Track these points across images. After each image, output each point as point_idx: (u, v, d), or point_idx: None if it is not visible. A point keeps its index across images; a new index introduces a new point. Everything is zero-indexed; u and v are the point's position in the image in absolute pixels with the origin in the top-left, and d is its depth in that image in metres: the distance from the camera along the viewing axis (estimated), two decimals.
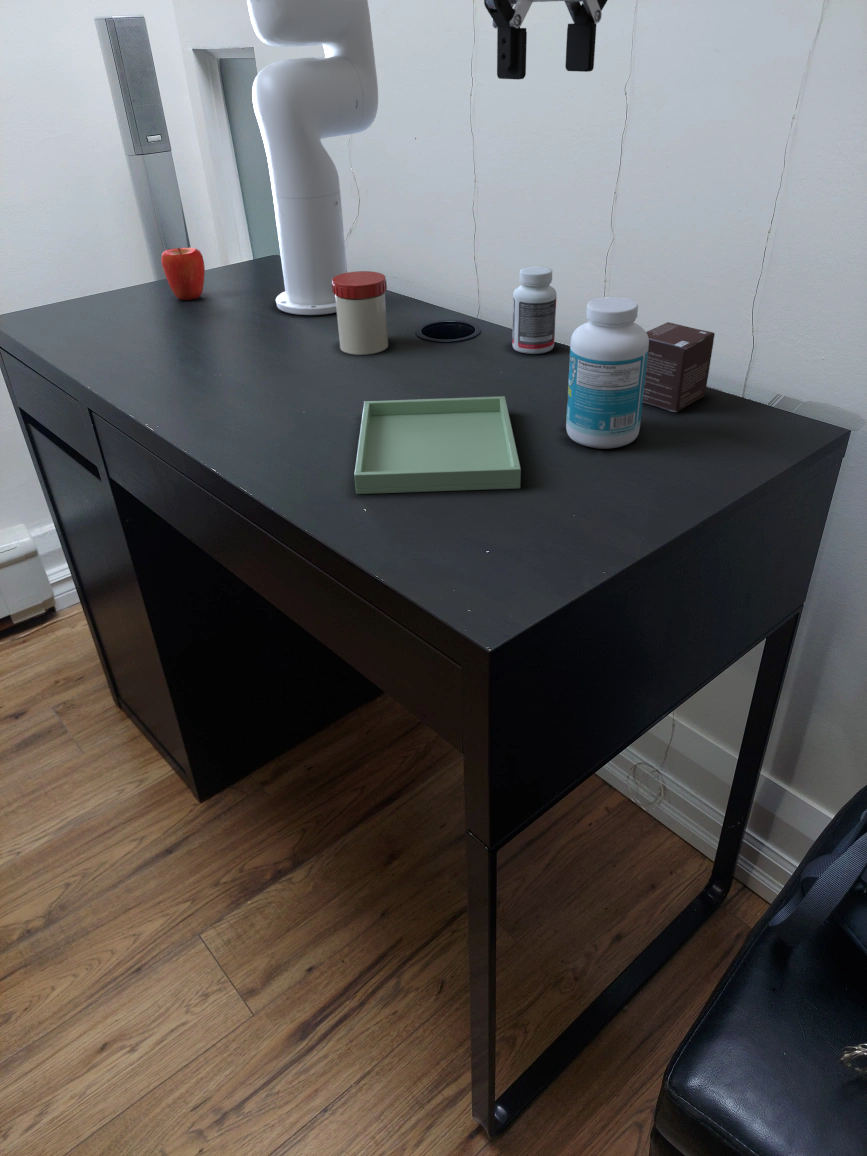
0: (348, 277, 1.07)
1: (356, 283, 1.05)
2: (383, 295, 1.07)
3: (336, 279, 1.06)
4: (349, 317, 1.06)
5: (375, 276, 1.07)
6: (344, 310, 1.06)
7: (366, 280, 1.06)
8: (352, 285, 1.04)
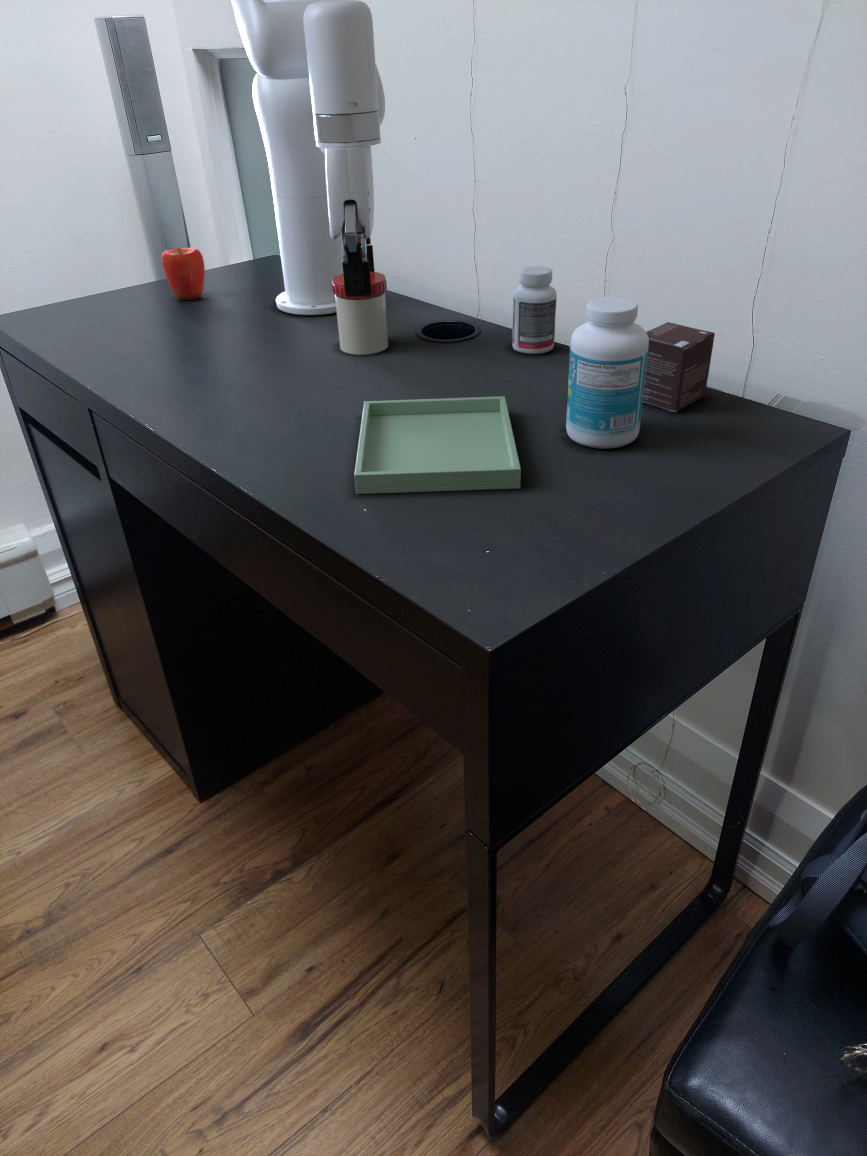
0: None
1: None
2: (383, 295, 1.07)
3: (336, 279, 1.06)
4: (349, 317, 1.06)
5: (375, 276, 1.07)
6: (344, 310, 1.06)
7: None
8: None
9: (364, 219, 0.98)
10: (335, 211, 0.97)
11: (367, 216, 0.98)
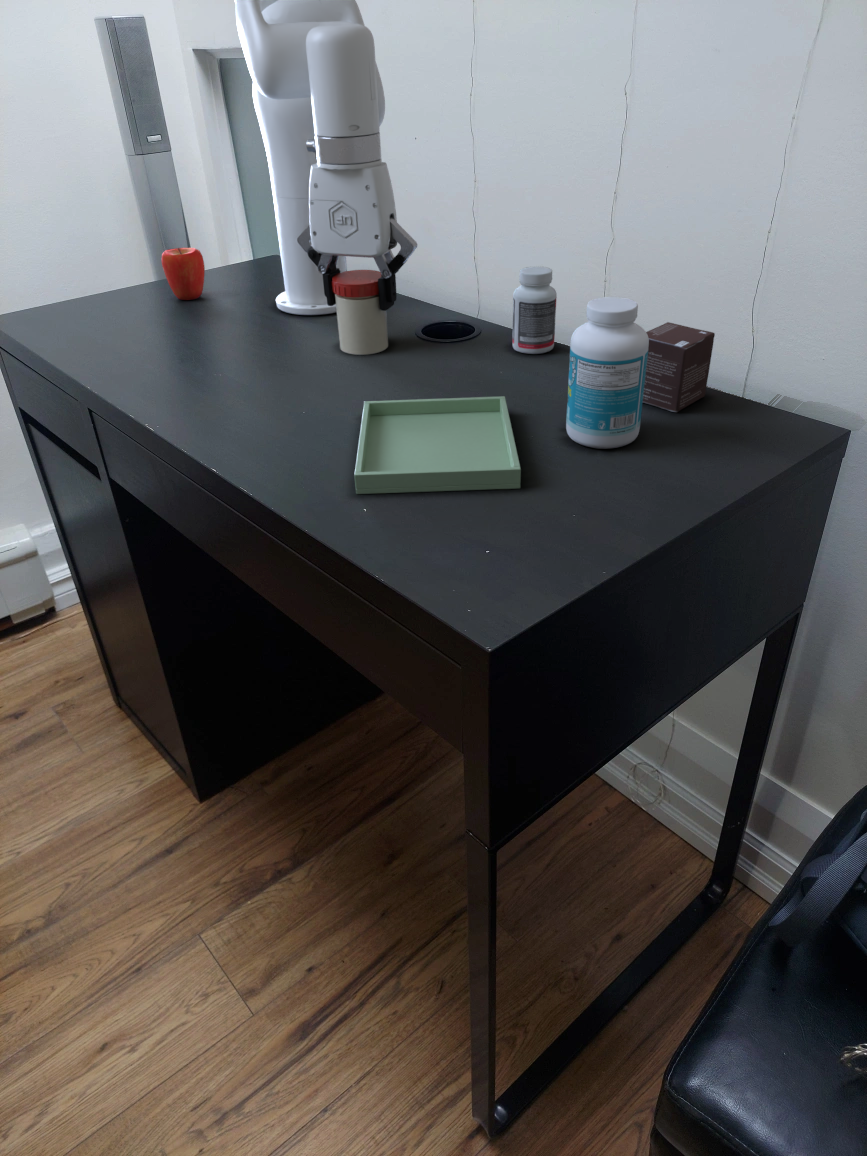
0: (350, 279, 1.05)
1: (375, 278, 1.05)
2: None
3: (350, 283, 1.04)
4: (350, 317, 1.06)
5: (361, 272, 1.08)
6: (344, 310, 1.06)
7: (370, 275, 1.07)
8: None
9: None
10: (386, 227, 1.00)
11: None
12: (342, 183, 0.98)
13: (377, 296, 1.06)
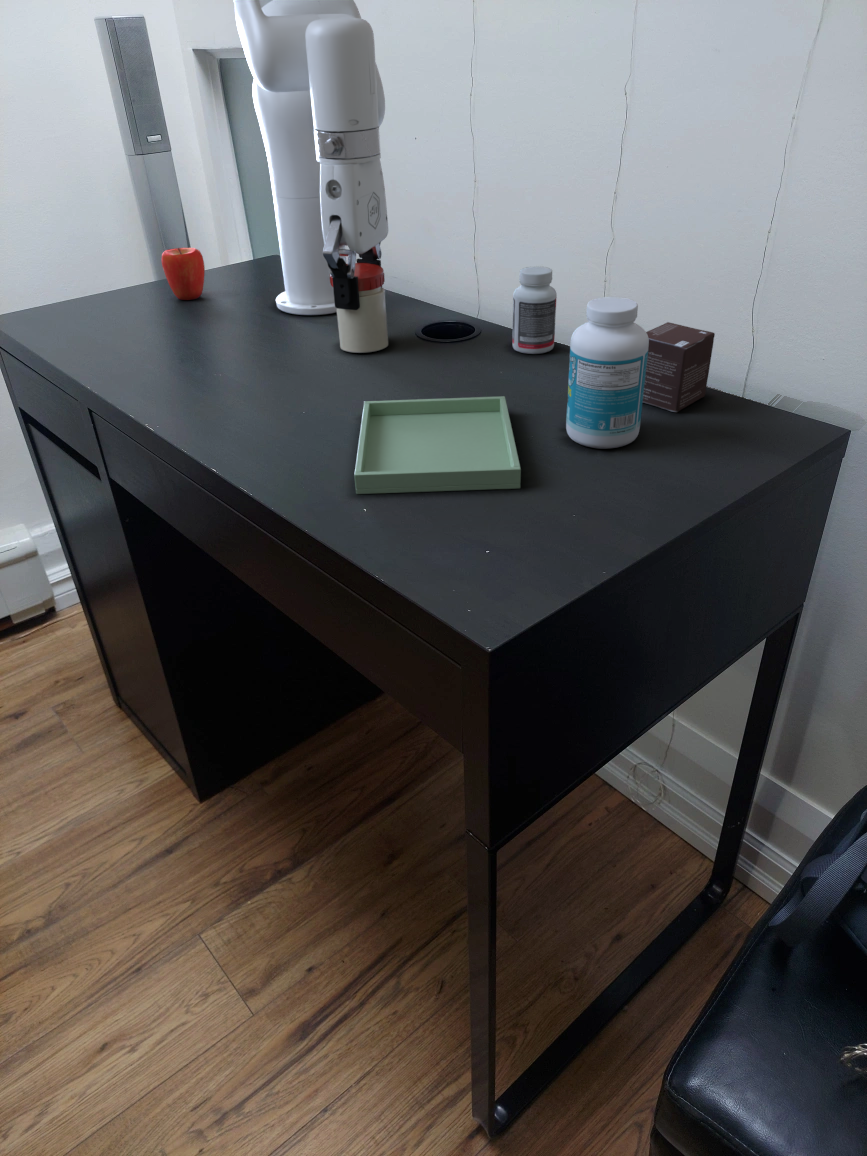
0: (364, 272, 1.06)
1: (365, 265, 1.08)
2: (383, 293, 1.07)
3: (377, 272, 1.06)
4: (349, 315, 1.06)
5: None
6: None
7: None
8: (370, 264, 1.09)
9: None
10: None
11: None
12: (372, 173, 0.99)
13: (377, 293, 1.06)
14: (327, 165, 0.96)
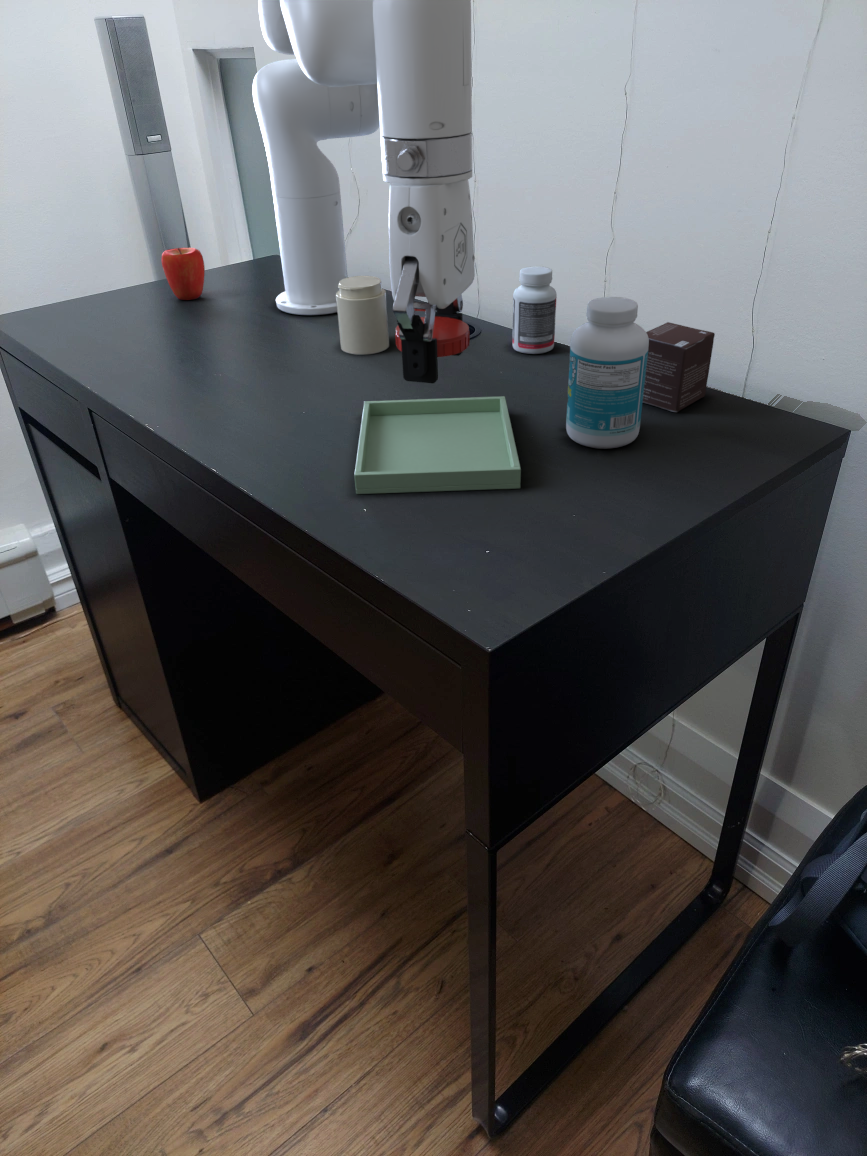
0: (444, 331, 0.77)
1: (442, 320, 0.80)
2: (384, 295, 1.07)
3: (462, 330, 0.77)
4: (351, 317, 1.06)
5: None
6: (345, 310, 1.06)
7: None
8: (448, 318, 0.80)
9: None
10: None
11: None
12: (460, 197, 0.71)
13: (378, 296, 1.06)
14: (400, 186, 0.68)
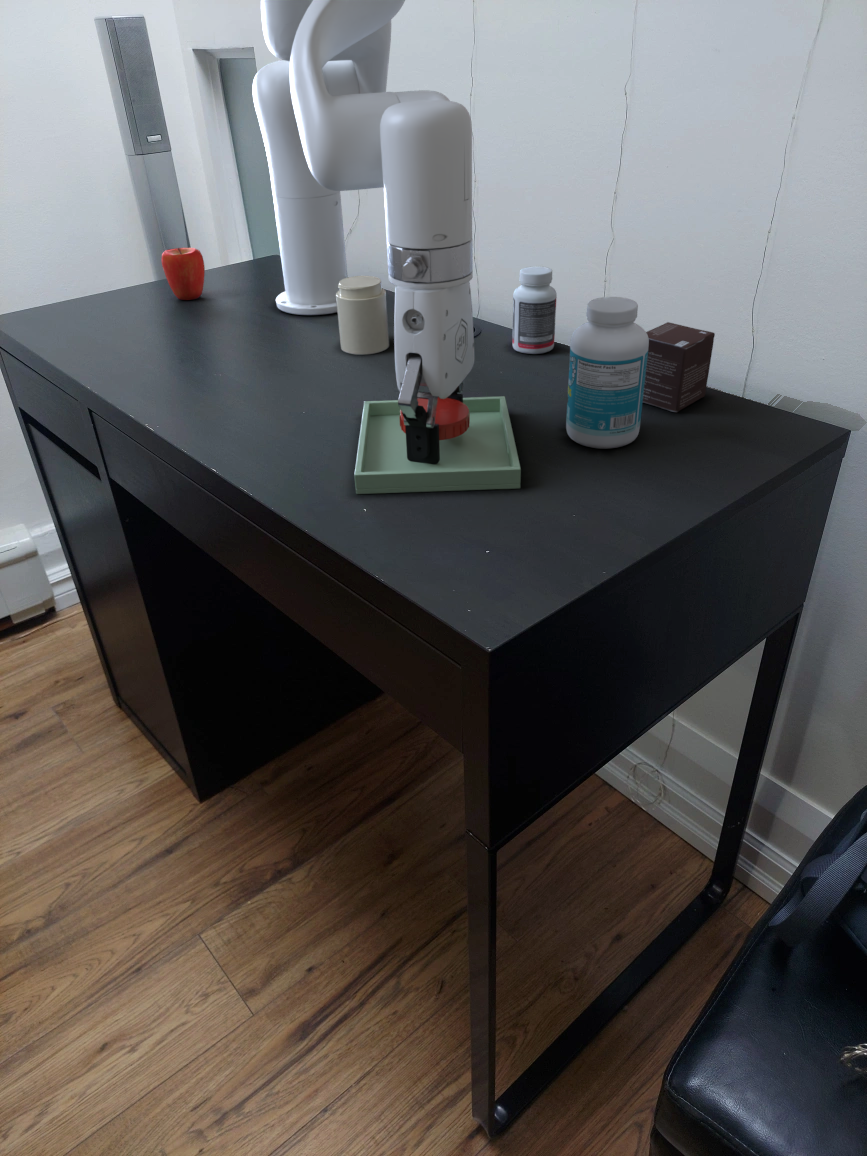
0: (445, 414, 0.82)
1: (443, 401, 0.84)
2: (384, 295, 1.07)
3: (462, 413, 0.82)
4: (351, 317, 1.06)
5: None
6: (345, 310, 1.06)
7: None
8: (450, 399, 0.85)
9: None
10: None
11: None
12: (461, 296, 0.76)
13: (378, 296, 1.06)
14: (405, 291, 0.72)
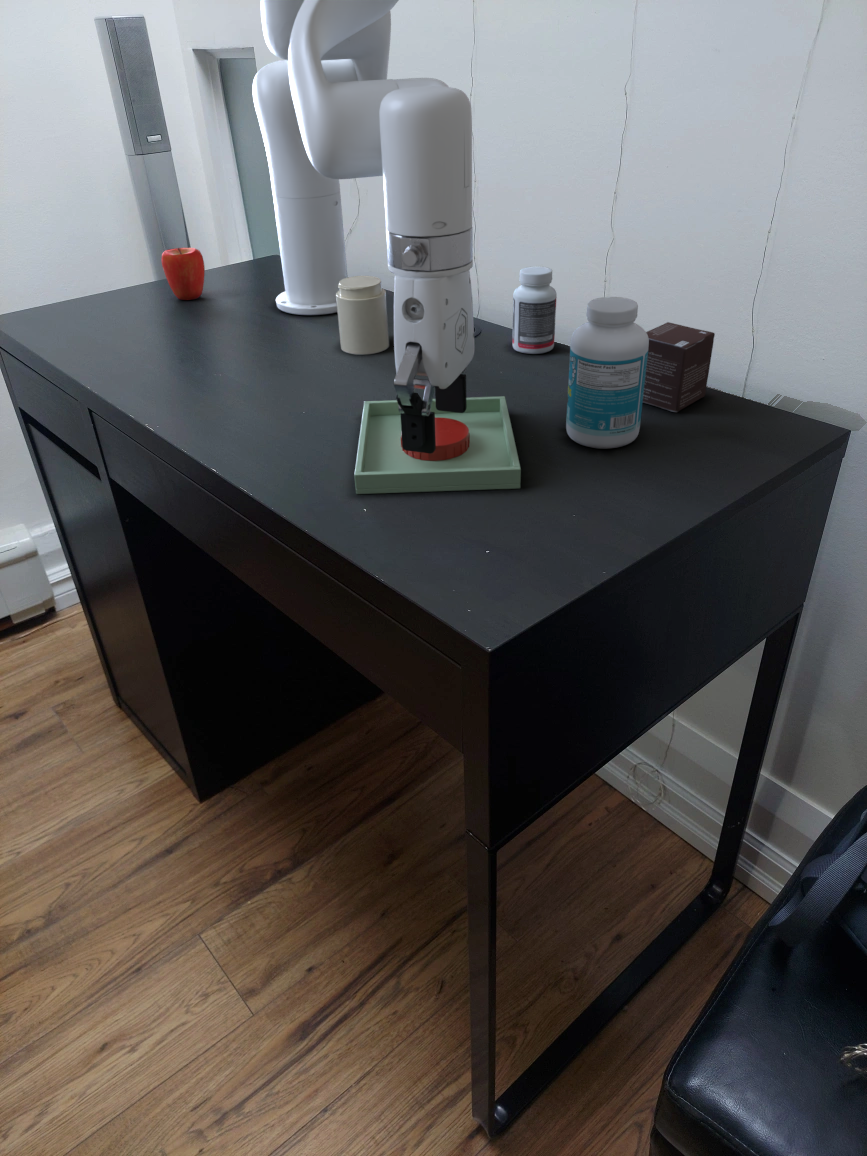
0: (446, 435, 0.83)
1: (443, 421, 0.86)
2: (384, 295, 1.07)
3: (462, 433, 0.83)
4: (351, 317, 1.06)
5: None
6: (345, 310, 1.06)
7: None
8: (450, 419, 0.86)
9: None
10: None
11: None
12: (461, 285, 0.75)
13: (378, 296, 1.06)
14: (405, 279, 0.72)
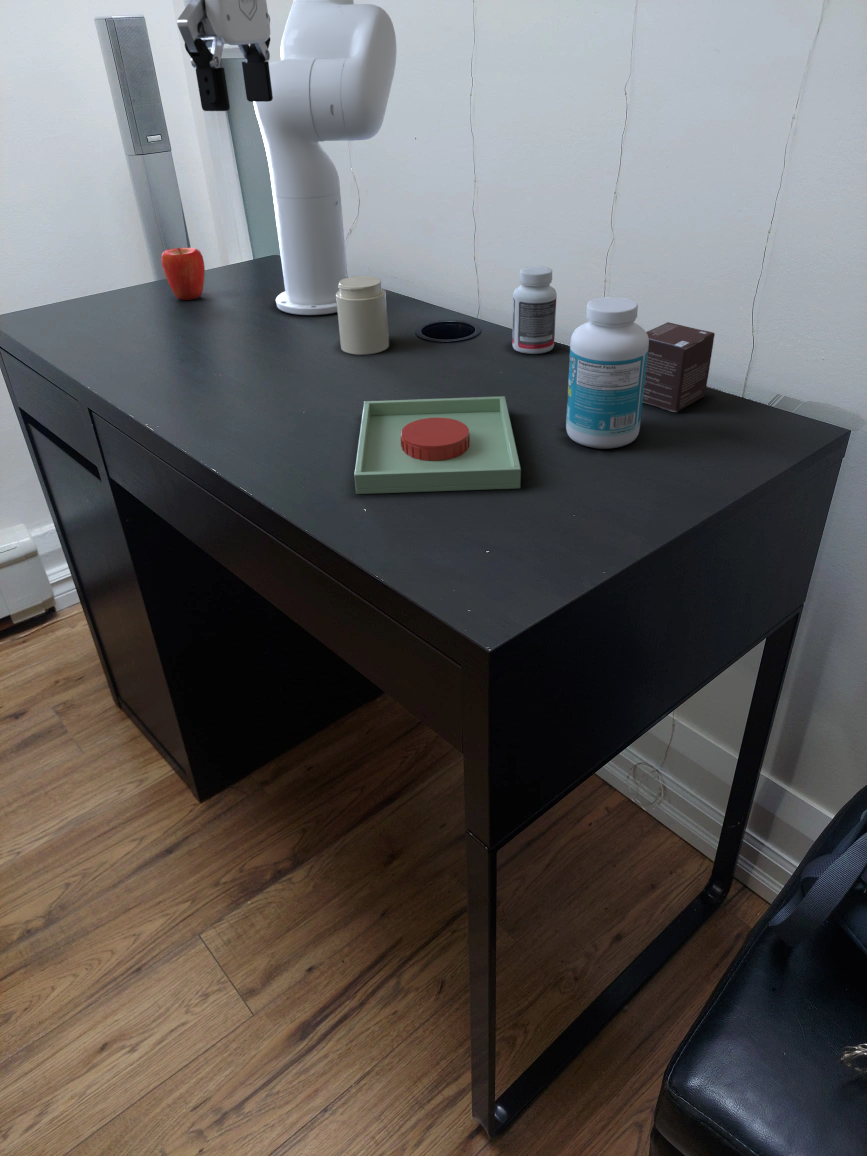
0: (446, 435, 0.83)
1: (443, 421, 0.86)
2: (384, 295, 1.07)
3: (462, 433, 0.83)
4: (351, 317, 1.06)
5: (413, 431, 0.84)
6: (345, 310, 1.06)
7: (429, 425, 0.85)
8: (450, 419, 0.86)
9: None
10: None
11: None
12: None
13: (378, 296, 1.06)
14: None
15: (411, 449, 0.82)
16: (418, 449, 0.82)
